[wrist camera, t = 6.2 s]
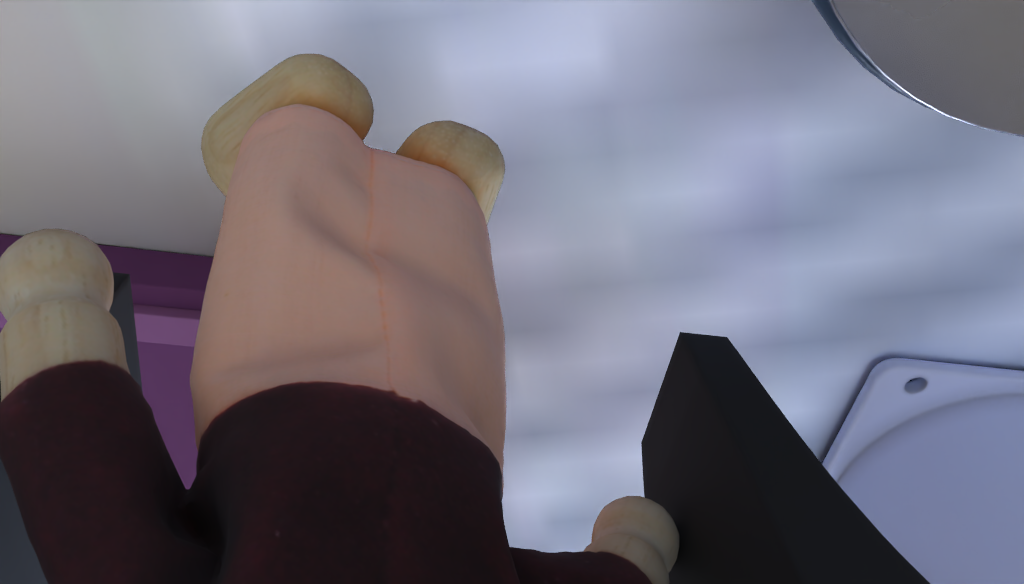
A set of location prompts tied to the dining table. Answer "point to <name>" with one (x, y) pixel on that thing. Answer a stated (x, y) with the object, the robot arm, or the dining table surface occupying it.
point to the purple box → (163, 337)
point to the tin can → (941, 53)
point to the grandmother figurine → (295, 375)
